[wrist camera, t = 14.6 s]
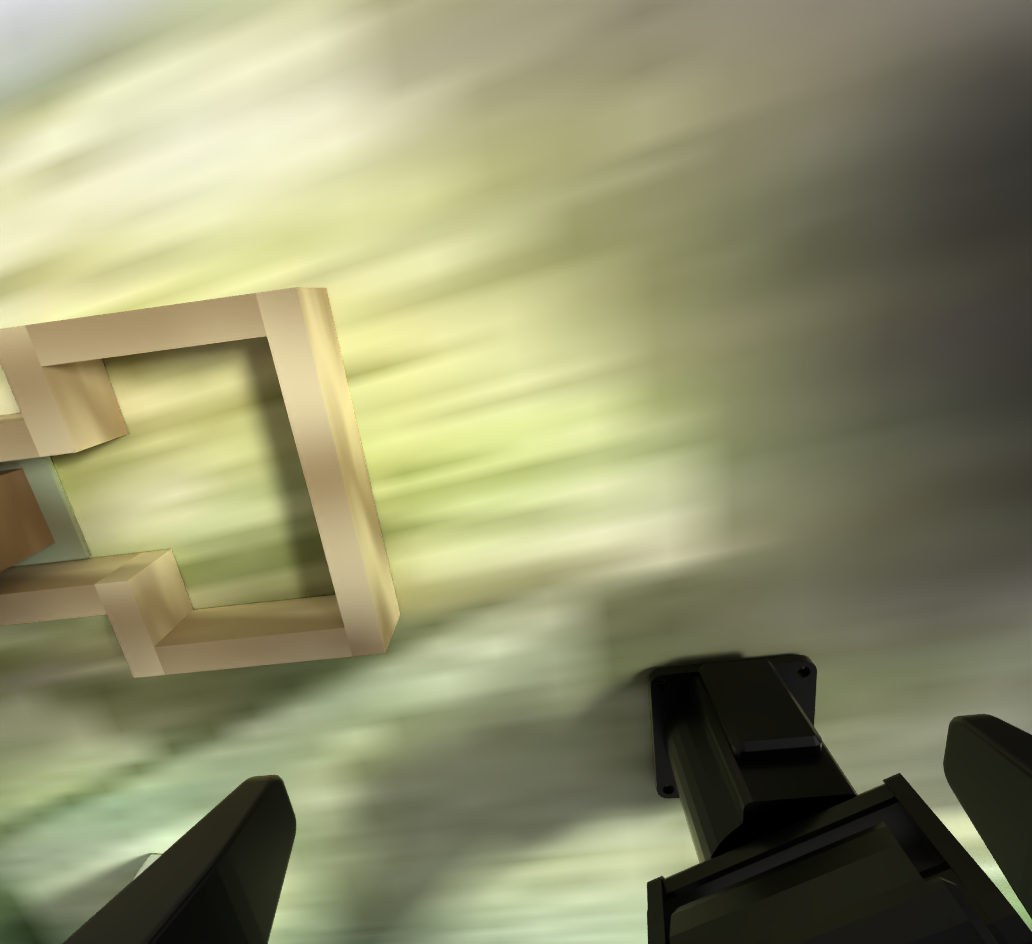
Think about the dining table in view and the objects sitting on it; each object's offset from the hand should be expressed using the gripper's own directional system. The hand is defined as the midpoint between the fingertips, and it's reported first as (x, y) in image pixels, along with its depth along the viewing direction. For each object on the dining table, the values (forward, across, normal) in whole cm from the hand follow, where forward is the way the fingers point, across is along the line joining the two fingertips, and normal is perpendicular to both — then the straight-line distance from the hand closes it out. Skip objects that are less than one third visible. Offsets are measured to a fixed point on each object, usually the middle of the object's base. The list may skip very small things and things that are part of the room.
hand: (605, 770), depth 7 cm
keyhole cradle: (+13, +16, -1) cm, 21 cm away
